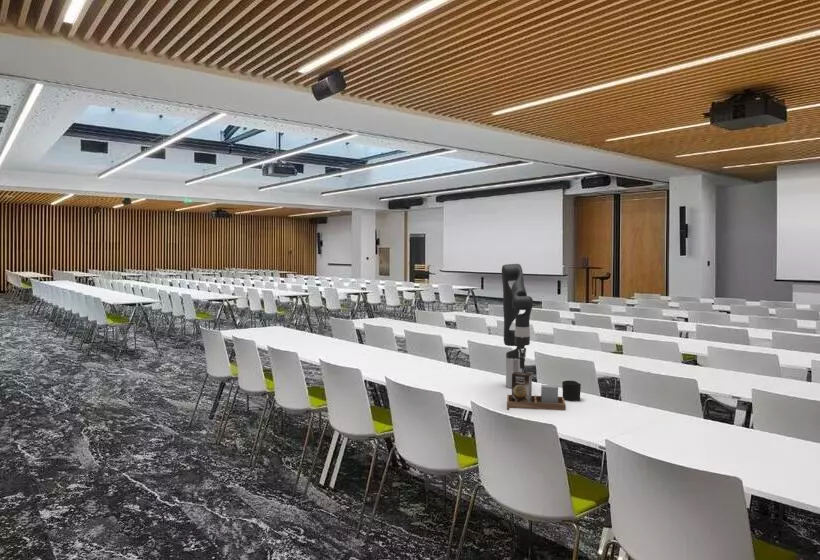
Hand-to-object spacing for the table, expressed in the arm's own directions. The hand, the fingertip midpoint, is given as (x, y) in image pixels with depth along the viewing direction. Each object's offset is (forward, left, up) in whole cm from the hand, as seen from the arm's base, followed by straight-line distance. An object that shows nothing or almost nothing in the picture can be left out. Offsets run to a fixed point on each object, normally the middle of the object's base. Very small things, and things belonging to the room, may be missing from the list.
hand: (522, 366), depth 296 cm
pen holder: (-15, +26, -21) cm, 36 cm away
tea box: (0, +14, -19) cm, 24 cm away
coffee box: (0, 0, -20) cm, 20 cm away
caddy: (0, +7, -20) cm, 22 cm away
